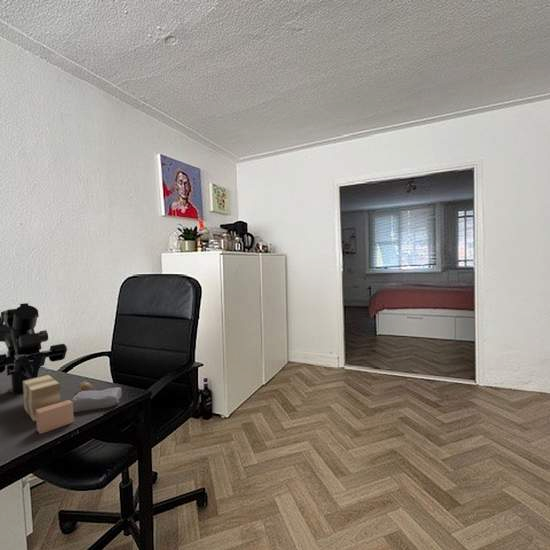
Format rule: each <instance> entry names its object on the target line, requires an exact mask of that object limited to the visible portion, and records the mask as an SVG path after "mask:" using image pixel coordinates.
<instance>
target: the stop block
mask: <svg viewBox="0 0 550 550" xmlns="http://www.w3.org/2000/svg"><path fill="white" fill-rule="evenodd" d="M71 401H72V400H70V399H67V400H64V401H61V402H60V403H57V404H53V405H50V406H46V407H43V408H40V409H36V422H35V423H36V430H37V432H38V434H39V435H41V434H44V433H47V432H50V431H52V430H57V429H58V428H62V427H64V426H67V425H70V424H73V423H74V422H75V421H74V418H75V417H74V416H75V415H74V412H73V402H71Z"/></svg>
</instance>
